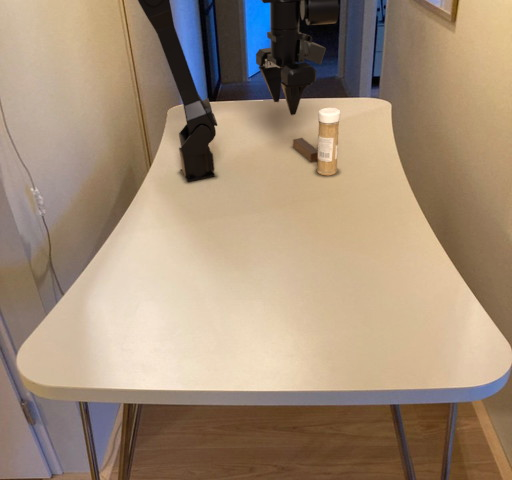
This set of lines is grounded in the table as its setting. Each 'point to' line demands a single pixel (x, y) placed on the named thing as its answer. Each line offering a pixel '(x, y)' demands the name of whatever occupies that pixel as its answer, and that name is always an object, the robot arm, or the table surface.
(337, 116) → the spice jar
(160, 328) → the table surface
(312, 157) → the walnut rail
